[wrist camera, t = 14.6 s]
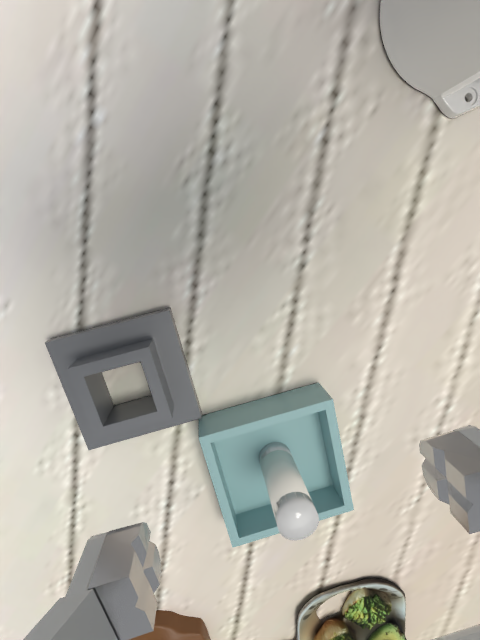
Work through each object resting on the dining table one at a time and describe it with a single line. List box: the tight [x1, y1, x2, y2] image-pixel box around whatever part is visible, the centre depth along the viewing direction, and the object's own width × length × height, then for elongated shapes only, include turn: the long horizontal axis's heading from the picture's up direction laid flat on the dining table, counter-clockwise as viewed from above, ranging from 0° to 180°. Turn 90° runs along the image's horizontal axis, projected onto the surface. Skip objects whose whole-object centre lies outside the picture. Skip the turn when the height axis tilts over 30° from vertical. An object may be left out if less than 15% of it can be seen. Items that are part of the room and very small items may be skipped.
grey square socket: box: [45, 308, 202, 450], centre depth 35 cm, size 13×13×4 cm
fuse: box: [259, 442, 319, 540], centre depth 36 cm, size 4×4×10 cm
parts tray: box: [199, 383, 354, 547], centre depth 40 cm, size 15×15×4 cm
